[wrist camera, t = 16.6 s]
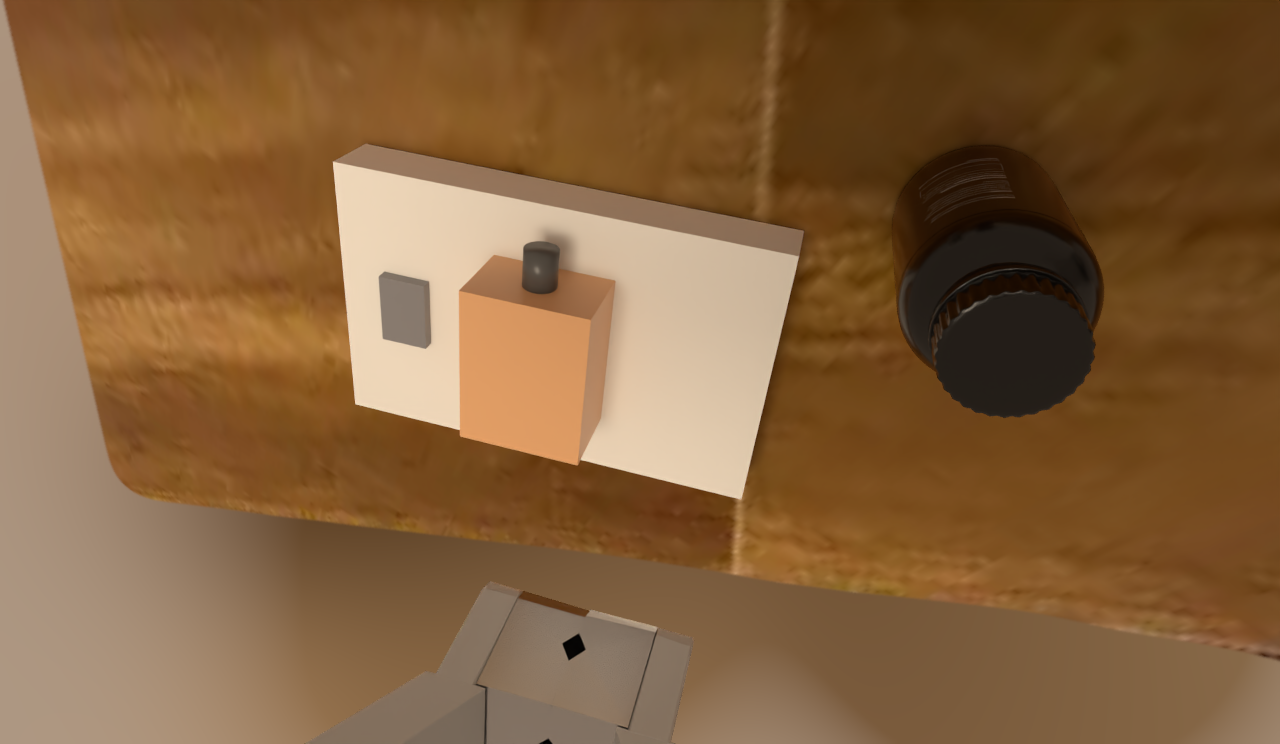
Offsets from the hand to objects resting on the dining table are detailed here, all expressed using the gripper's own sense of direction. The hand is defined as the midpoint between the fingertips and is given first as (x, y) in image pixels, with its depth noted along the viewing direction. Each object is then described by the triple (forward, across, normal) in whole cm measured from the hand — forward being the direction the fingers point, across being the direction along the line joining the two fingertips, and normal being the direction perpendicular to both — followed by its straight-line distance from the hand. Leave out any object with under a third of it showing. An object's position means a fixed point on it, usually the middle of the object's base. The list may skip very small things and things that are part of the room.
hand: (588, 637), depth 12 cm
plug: (+29, +9, +12) cm, 32 cm away
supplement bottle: (+29, -9, +3) cm, 31 cm away
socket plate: (+29, +9, +12) cm, 33 cm away
